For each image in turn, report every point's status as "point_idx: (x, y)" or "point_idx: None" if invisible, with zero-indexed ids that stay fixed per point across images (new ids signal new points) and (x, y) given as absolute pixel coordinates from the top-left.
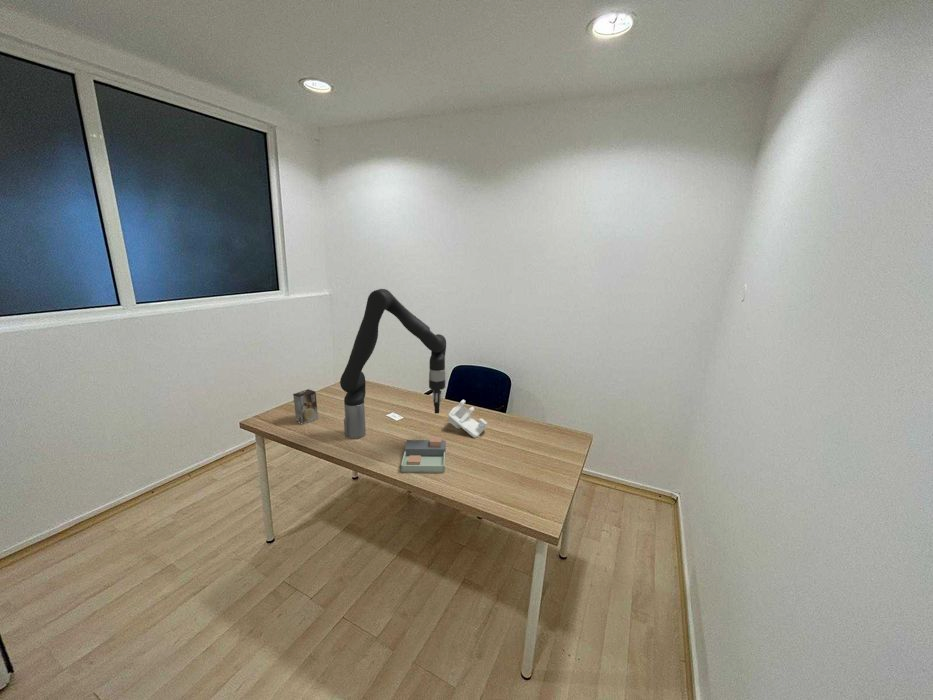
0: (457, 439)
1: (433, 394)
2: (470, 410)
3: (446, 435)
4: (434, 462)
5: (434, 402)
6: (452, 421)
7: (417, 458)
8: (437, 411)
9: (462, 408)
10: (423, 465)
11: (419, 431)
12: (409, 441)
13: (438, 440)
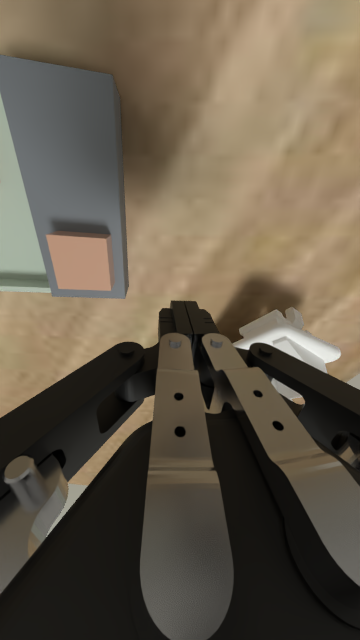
0: None
1: (139, 559)
2: None
3: (216, 289)
4: (7, 245)
5: (4, 427)
6: (263, 325)
7: None
8: (158, 329)
9: None
10: None
11: (272, 174)
12: (94, 95)
13: (69, 277)
